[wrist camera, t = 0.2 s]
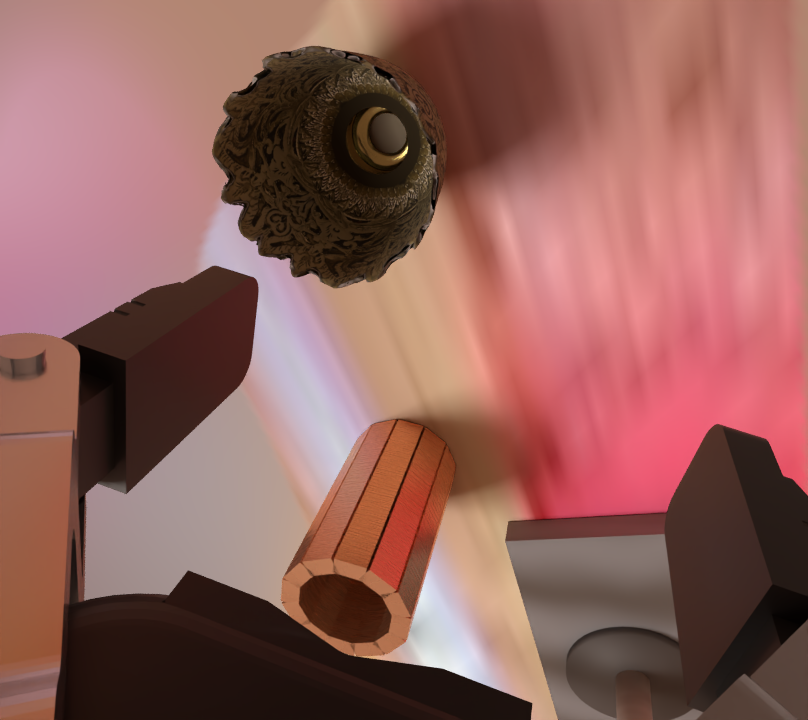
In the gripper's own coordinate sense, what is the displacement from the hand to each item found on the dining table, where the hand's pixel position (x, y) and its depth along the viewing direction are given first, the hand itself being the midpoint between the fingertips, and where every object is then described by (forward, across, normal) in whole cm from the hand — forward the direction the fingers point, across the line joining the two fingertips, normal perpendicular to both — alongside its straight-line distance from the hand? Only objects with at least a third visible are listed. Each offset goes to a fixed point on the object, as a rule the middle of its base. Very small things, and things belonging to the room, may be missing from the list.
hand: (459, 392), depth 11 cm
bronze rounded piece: (+18, +7, -1) cm, 19 cm away
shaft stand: (+19, -13, +24) cm, 34 cm away
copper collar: (+18, +3, +16) cm, 25 cm away
